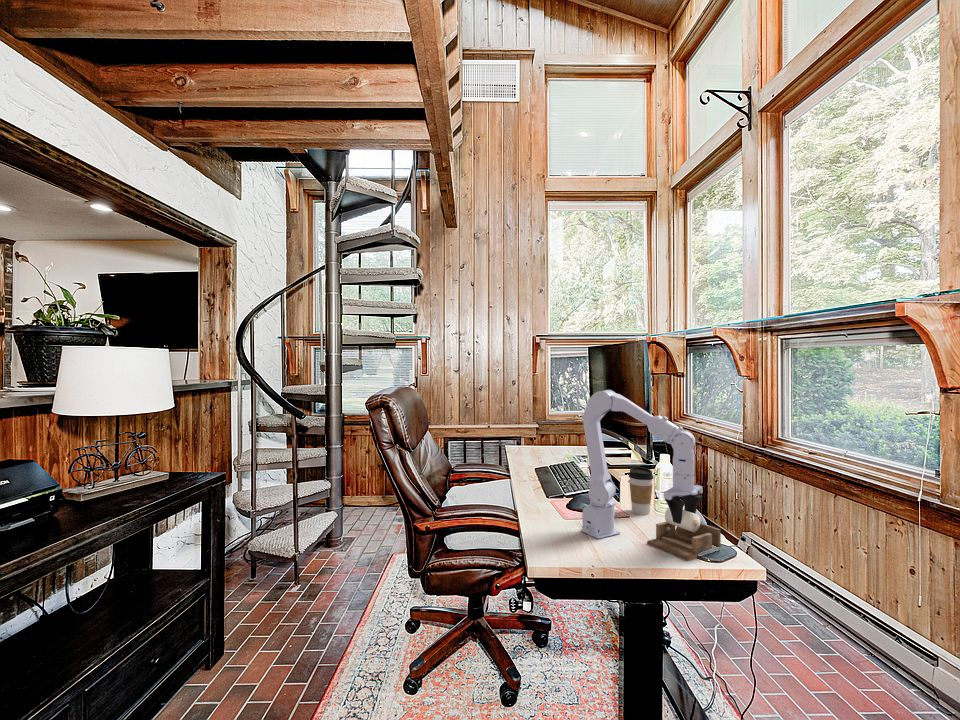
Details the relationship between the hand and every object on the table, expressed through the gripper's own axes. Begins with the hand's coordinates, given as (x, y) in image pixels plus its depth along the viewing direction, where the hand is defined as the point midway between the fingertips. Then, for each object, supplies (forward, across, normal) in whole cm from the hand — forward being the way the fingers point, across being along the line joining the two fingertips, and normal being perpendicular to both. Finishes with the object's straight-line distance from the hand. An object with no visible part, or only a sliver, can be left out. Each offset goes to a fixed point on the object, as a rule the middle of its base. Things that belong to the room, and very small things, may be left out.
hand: (683, 521), depth 136 cm
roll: (0, 0, 0) cm, 1 cm away
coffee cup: (+8, +14, +28) cm, 32 cm away
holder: (+8, 0, 0) cm, 8 cm away
